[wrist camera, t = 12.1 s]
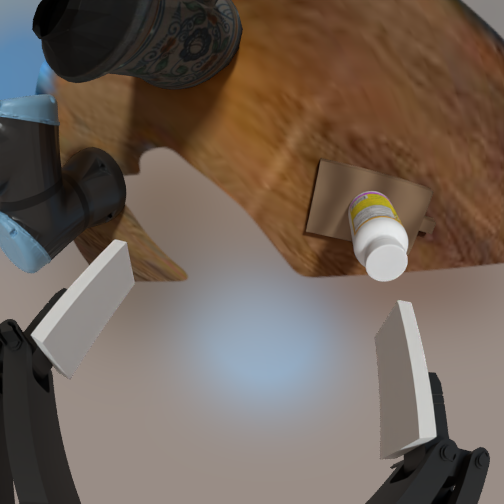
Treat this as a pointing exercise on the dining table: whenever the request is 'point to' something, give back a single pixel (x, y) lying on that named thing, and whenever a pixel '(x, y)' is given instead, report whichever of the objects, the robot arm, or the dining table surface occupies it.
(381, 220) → the supplement bottle
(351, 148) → the dining table surface
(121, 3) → the beer stein
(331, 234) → the walnut board
